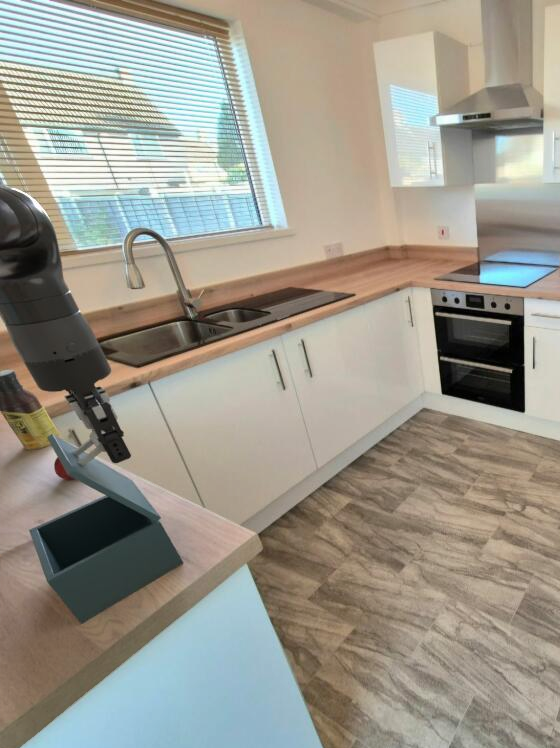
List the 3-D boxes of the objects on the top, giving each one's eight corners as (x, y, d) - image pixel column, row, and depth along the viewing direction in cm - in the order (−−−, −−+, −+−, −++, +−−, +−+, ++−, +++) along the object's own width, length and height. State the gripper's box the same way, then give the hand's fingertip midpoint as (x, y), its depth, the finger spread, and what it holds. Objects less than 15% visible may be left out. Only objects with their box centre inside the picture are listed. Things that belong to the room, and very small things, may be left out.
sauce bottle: (23, 453, 100) (-30, 377, 91) (56, 438, 105) (9, 365, 96) (38, 458, 98) (-15, 381, 89) (71, 443, 103) (24, 368, 94)
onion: (66, 492, 86) (44, 460, 83) (64, 480, 90) (43, 449, 86) (103, 477, 90) (84, 446, 86) (99, 467, 94) (81, 436, 90)
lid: (67, 475, 55) (107, 444, 57) (46, 437, 64) (81, 412, 66) (156, 522, 64) (187, 493, 67) (127, 483, 73) (155, 459, 75)
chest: (81, 624, 60) (46, 581, 56) (59, 570, 69) (28, 529, 65) (183, 563, 68) (160, 522, 64) (153, 521, 77) (131, 483, 73)
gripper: (14, 347, 59) (74, 449, 66) (29, 371, 51) (96, 484, 58) (85, 331, 64) (134, 428, 71) (110, 351, 56) (162, 457, 63)
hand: (117, 453), depth 65 cm, fingers closed on lid, 5 cm apart
